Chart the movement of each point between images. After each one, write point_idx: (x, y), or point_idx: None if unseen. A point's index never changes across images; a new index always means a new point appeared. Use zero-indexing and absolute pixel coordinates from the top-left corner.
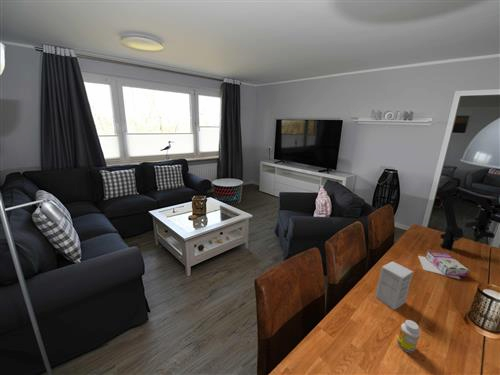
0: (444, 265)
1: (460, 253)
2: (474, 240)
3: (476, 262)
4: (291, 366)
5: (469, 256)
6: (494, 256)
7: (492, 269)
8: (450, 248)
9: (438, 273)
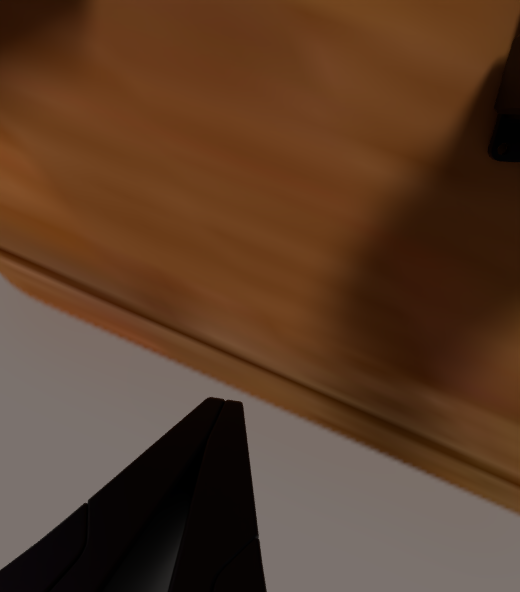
0: None
1: (432, 217)
2: (218, 406)
3: (266, 292)
4: None
5: (383, 285)
6: (466, 486)
7: (197, 358)
8: (502, 97)
9: None
